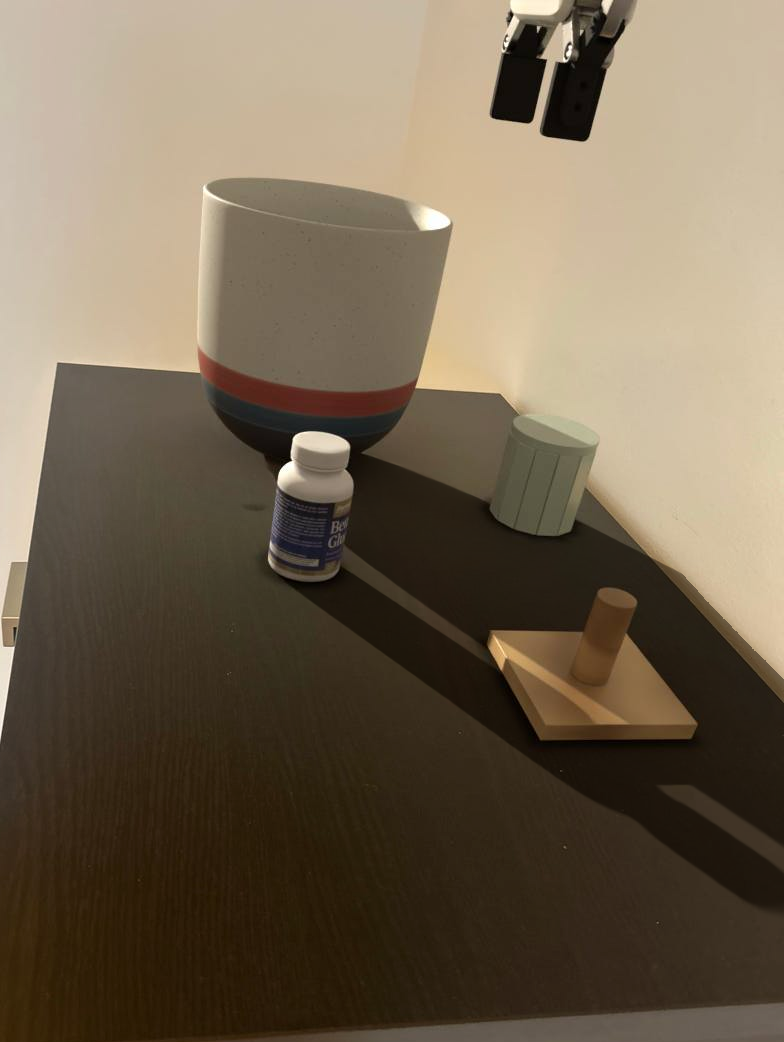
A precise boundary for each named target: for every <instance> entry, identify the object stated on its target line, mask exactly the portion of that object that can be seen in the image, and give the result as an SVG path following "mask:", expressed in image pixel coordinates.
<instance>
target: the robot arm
mask: <svg viewBox="0 0 784 1042" xmlns="http://www.w3.org/2000/svg"><path fill="white" fill-rule="evenodd" d="M637 4H638V0H510V5H509V6H510V9H509V11H508V12H507V16H506V18H505V21H506V25H507V26H506V27H507V29H506V32H505V33H504V35H503V38H502V43H501V54H500V59H499V64H498V68H497V74H496V77H495V78H496V79H495V83H494V88H493V93H492V98H491V102H490V108H489V117H490V118H491V119H493V120H496V121H497V120H498V121H505V122H510V123H511V122H512V123H519V124H525V125H526V124H528V125H530V124H531V123H532V122H533V121H534V119H535V115H536V110H537V107H538V101H539V97H540V93H541V88H542V86H543V85H542V84H543V81H544V77H545V72H546V67H547V62H548V59H547V58H542V56H543V55H544V53H545V51H546V49H547V48H548V46H549V44H550V42H551V39H552V38H553V35H554V34H555V31H556V30H557V28H558V26H559V24H560V23H561V40H562V60H563V62H562V61H555V62H554V66H553V71H552V75H551V79H550V83H549V87H548V91H547V95H546V100H545V104H544V108H543V113H542V116H541V121H540V126H539V134H540V135H541V136H543V137H546V138H551V139H559V140H565V141H574V142H579V143H585V142H586V141H588V140H589V138H590V135H591V132H592V129H593V125H594V121H595V118H596V117H595V116H596V113H597V109H598V107H599V102H600V99H601V94H602V91H603V86H604V83H605V78H606V75H607V71H608V69H609V68H610V67H611V65H612V64H613V61H614V58H615V46H616V44H617V43H618V41H619V40H620V38H621V36H622V35H623V34H624V32H625V30H626V27H627V26H628V25H629V24H630V23H631V22H632V20H633V18H634V15H635V12H636V8H637ZM538 27H539V29H538ZM581 31H582V32H581Z"/></svg>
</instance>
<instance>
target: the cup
mask: <svg viewBox="0 0 784 1042" xmlns="http://www.w3.org/2000/svg"><path fill="white" fill-rule="evenodd" d="M600 440H601V438H600V436H599V434H598V433H597V432H596V431H595V430H594V429H592V428H591V427H589V426H588V425H585V424H583V423H580V422H578V421H575V420H572V419H569V418H565V417H562V416H557V415H552V414H545V413H526V414H521V415H517V416H516V417H514V419H512V424H511V428H510V430H509V433H508V437H507V440H506V444H505V447H504V451H503V456H502V459H501V460H502V461H501V462H500V467H499V471H498V475H497V479H496V482H495V486H494V490H493V494H492V497H491V501H490V505H489V511H490V513H491V514H492V515H493V517H494V519H495V520H497V521H498V522H500V523H502V524H503V525H505V526H507V527H509V528H511V529H513V530H514V531H517V532H522V533H525V534H529V535H534V536H535V535H536V536H541V537H542V536H543V537H544V536H545V537H546V536H547V537H559V536H561V535H565V534H568V533H570V532H571V531H572V529H573V526H574V523H575V520H576V517H577V513H578V511H579V508H580V504H581V501H582V498H583V495H584V492H585V489H586V486H587V482H588V479H589V476H590V472H591V471H592V470H591V469H592V467H593V463H594V461H595V457H596V454H597V450H598V449H599V448H598V447H599V445H600Z"/></svg>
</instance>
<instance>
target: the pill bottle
mask: <svg viewBox="0 0 784 1042" xmlns="http://www.w3.org/2000/svg"><path fill="white" fill-rule="evenodd" d="M349 453H350V444H349V443H348V442H347V441H346V440H344V439H343V438H341V437H339V436H336V435H333V434H329V433H324V432H302V433H299V434H297V435H295V437H294V438H293V443H292V449H291V459H292V461H291V462H287V463H285V464H284V465H283V466H282V467H281V469H280V470H279V472H278V476H277V482H276V490H275V499H274V506H273V514H272V522H271V531H270V538H269V546H268V554H267V555H268V556H267V557H268V558H267V561H268V564H269V565H270V567H271V569H272V570H273V571H275V572H276V573H277V574H278V575H280V576H282V577H284V578H287V579H289V580H293V581H297V582H303V583H317V582H324V581H327V580H330V579H332V578H333V577H335V576H336V575H337V574H338V572H339V571H340V567H341V564H342V558H343V551H344V546H345V541H346V540H345V539H346V535H347V530H348V529H347V528H348V523H349V516H350V511H351V506H352V501H353V495H354V479H353V477H352V476H351V474H350V473H349V472H348V471H347V470H346V469H347V467H348V464H349V459H350V458H349Z"/></svg>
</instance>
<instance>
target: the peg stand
mask: <svg viewBox="0 0 784 1042" xmlns="http://www.w3.org/2000/svg"><path fill="white" fill-rule="evenodd" d="M637 606H638V601H637V599H636V598H635V596H633V595H632V594H630V593H629V592H627V591H625V590H622V589H620V588H616V587H602V588H599V590H598V591H597V592H596V595H595V598H594V601H593V603H592V606H591V609H590V612H589V615H588V617H587V620H586V623H585V626H584V629H583V631H555V630H554V631H551V630H549V631H548V630H501V629H499V630H498V629H497V630H495V629H494V630H493V629H492V630H490V631H489V635H488V638H487V642H486V646H487V648H488V650H489V651H490V654H491V655H492V657H493V659H494V661H495V662H496V665H497V666H498V668H499V670H500V671H501V673H502V674H503V676H504V678H505V680H506V682H507V683H508V685H509V687H510V689H511V691H512V692H513V694H514V696H515V698H516V699H517V701H518V703H519V705H520V707H521V709H522V710H523V712H524V713H525V715H526V717H527V719H528V721H529V723H530V724H531V726H532V728H533V730H534V732H535V733H536V735H537V737H538V738H539V740H540V741H596V740H597V741H607V740H608V741H612V740H613V741H614V740H615V741H617V740H618V741H619V740H620V741H621V740H624V741H625V740H627V741H629V740H691V739H692V738H693V736H694V734H695V731H696V729H697V728H698V722H697V721H696V720H695V718H694V717H693V716H692V715H691V713H690V712H689V711H688V710H687V708H686V707H685V706H684V704H682V702H681V701H680V700H679V698H678V697H677V696H676V694H675V693H674V692H673V690H672V689H671V688H670V687H669V686H668V684H667V683H666V682H665V681H664V679H663V678H662V676H661V675H660V674H659V673H658V672H657V671H656V669H655V668H654V667H653V665H652V664H651V663H650V661H649V660H648V659H647V658H646V657H645V655H644V653H643V652H641V650H640V649H639V648H638V646H637V645H636V644H635V642H633V640H632V639H631V638H630V636H629V635H628V633H627V632H628V629H629V627H630V624H631V621H632V619H633V617H634V613H635V611H636V608H637Z"/></svg>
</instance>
